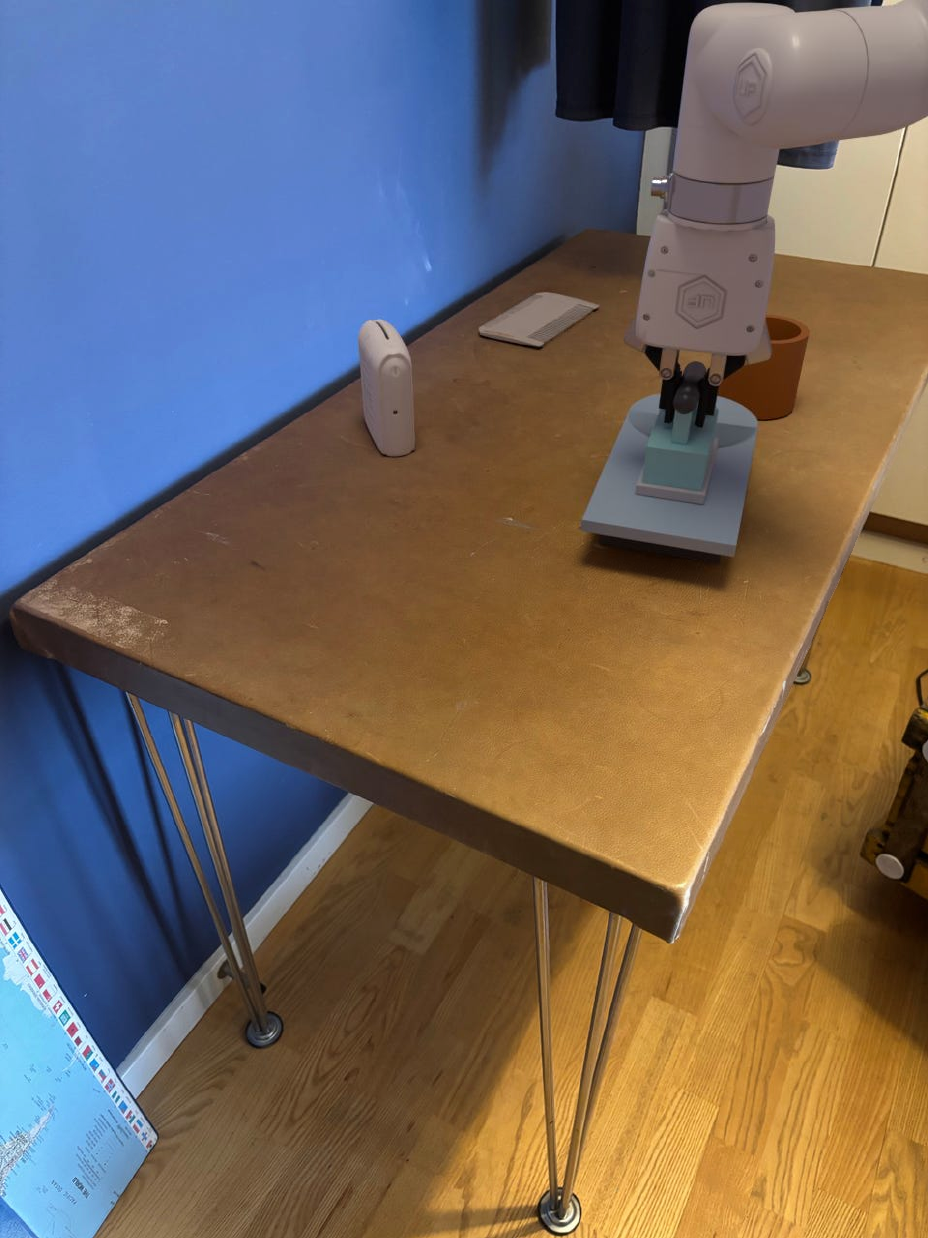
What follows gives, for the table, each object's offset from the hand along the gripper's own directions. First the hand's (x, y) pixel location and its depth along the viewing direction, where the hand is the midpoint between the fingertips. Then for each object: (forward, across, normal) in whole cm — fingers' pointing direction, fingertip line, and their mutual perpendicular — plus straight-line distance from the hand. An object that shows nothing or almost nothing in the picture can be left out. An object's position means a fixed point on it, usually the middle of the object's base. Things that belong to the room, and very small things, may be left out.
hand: (685, 417), depth 81 cm
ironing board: (+10, 0, +3) cm, 11 cm away
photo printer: (+10, -32, +7) cm, 34 cm away
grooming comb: (+10, -25, +45) cm, 53 cm away
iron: (+5, 0, 0) cm, 5 cm away
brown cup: (+11, +6, +29) cm, 32 cm away
